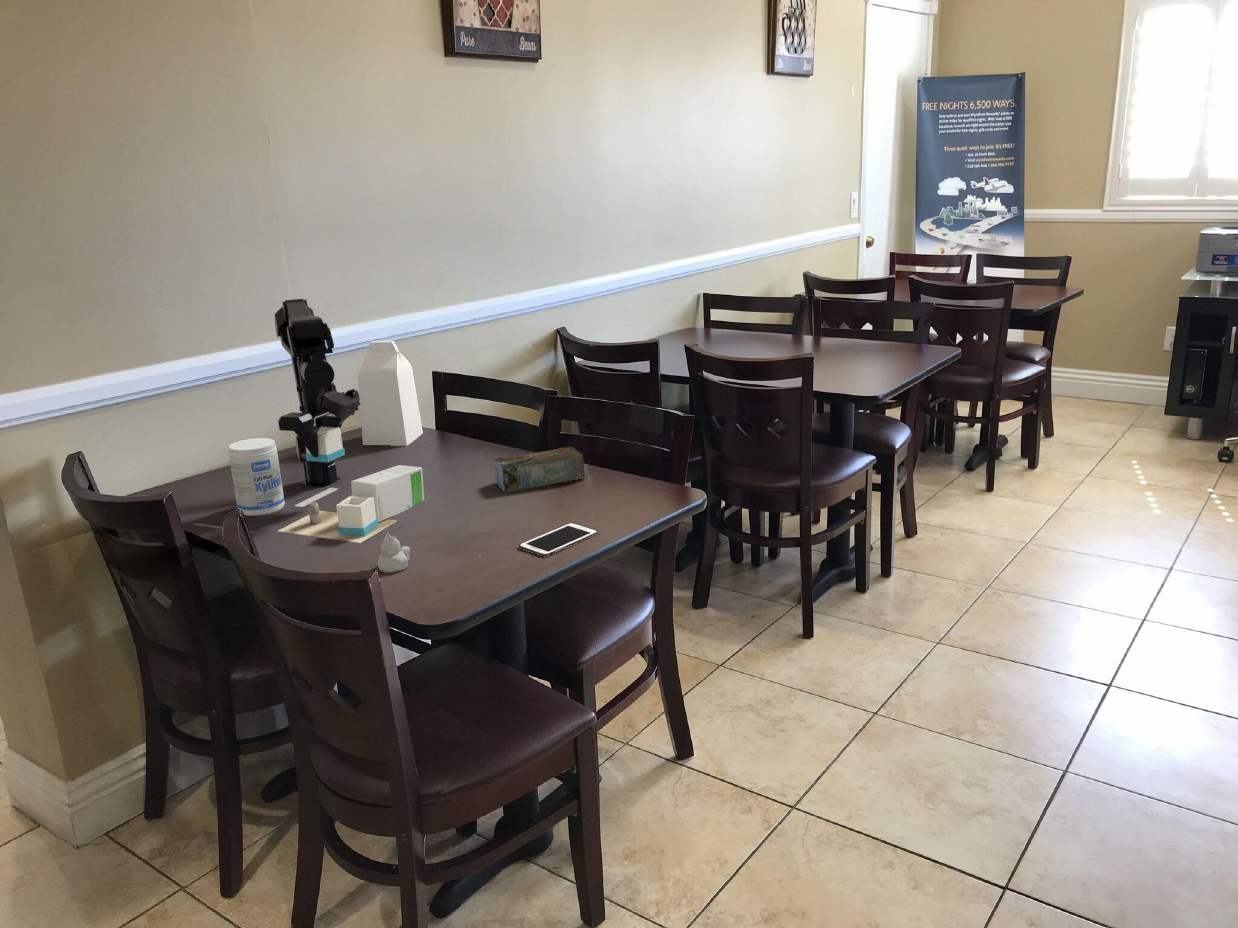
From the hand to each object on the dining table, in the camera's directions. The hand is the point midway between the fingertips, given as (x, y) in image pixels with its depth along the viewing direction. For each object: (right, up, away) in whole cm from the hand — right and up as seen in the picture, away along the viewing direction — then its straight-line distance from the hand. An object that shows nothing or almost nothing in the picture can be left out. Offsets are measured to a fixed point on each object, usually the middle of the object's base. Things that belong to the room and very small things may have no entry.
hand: (325, 453), depth 200 cm
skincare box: (+18, -6, +3) cm, 19 cm away
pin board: (+6, -15, -10) cm, 20 cm away
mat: (0, -10, +6) cm, 12 cm away
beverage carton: (+44, -7, +14) cm, 47 cm away
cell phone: (+50, -17, -20) cm, 57 cm away
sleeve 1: (0, -1, 0) cm, 1 cm away
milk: (+2, +4, +51) cm, 51 cm away
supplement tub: (-14, -12, +3) cm, 19 cm away
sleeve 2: (+11, -15, -13) cm, 23 cm away
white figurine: (+22, -22, -30) cm, 43 cm away
